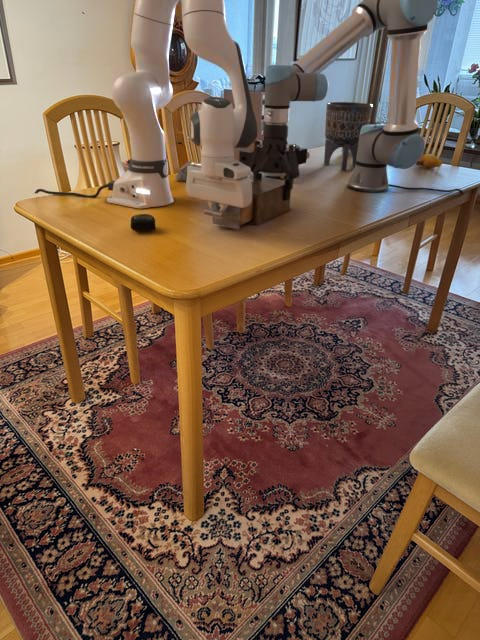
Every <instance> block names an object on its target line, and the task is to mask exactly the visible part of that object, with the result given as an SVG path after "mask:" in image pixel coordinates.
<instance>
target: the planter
mask: <svg viewBox="0 0 480 640" xmlns="http://www.w3.org/2000/svg"><path fill="white" fill-rule="evenodd" d="M373 107H374V106H373V104H372V103H367V102H353V101H333V102H327V103H326V109H325V124H324V125H325V126H324V139H325V144H324V156H323V157H324V158H323V165H325V166H328V165H330V163H331V158H332V156H333V154H334V153H335V151H336V150H337V149H340V148H341V152H342V153H341V166H340V170H341V172H345V171H347V167H348V166H347V165H348V159H349V153H348V152H349V150H350V151H351V153H352V154H351V153H350V154H351V157H352V158H351V159H352V160H351V161H352V166H353V167H355V165H356V158H357V150H358V143H359V135H360V131H361V128H362V127H363V126H364V125H370V121H371V116H372V112H373Z"/></svg>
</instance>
